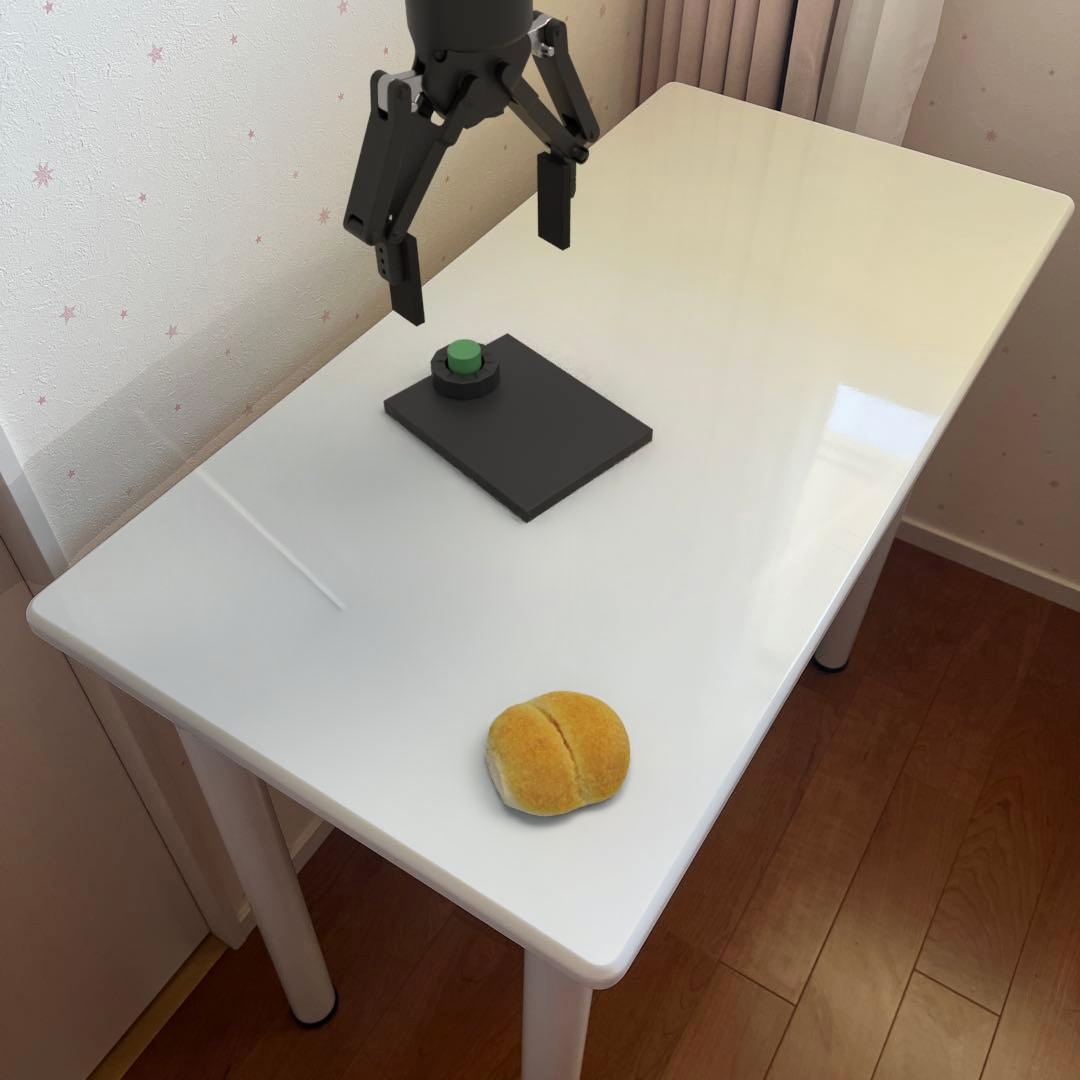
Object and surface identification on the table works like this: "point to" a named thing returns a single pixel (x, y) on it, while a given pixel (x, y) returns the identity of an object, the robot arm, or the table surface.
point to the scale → (518, 425)
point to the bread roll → (557, 753)
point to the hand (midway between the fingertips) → (484, 277)
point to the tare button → (464, 356)
